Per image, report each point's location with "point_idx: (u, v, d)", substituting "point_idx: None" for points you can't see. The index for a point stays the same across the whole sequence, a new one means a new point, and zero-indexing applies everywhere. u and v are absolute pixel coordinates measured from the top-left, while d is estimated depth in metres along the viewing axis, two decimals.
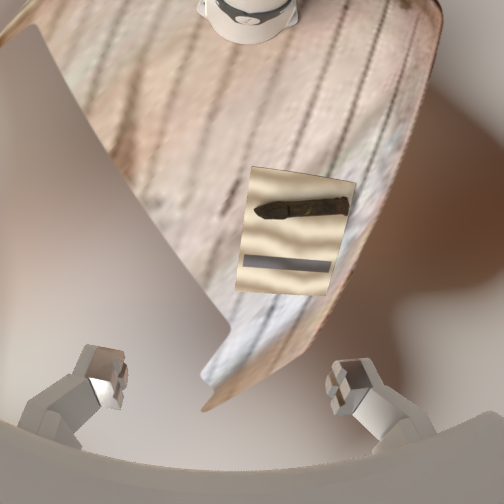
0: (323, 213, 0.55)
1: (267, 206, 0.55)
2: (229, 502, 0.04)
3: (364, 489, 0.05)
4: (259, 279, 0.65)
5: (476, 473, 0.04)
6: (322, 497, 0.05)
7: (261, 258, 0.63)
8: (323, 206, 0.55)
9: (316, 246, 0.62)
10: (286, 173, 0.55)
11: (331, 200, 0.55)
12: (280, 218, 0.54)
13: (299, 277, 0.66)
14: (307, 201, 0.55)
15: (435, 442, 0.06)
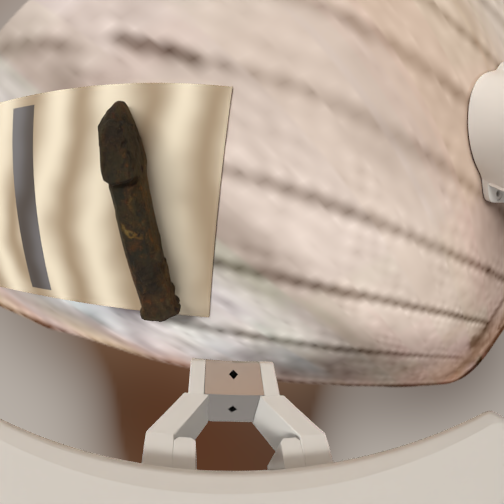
0: (133, 268, 0.22)
1: (131, 129, 0.19)
2: (229, 502, 0.04)
3: (364, 489, 0.05)
4: None
5: (476, 473, 0.04)
6: (322, 497, 0.05)
7: (27, 144, 0.19)
8: (150, 267, 0.22)
9: (67, 256, 0.25)
10: (217, 169, 0.23)
11: (166, 279, 0.24)
12: (103, 166, 0.18)
13: (10, 232, 0.23)
14: (154, 226, 0.22)
15: (435, 442, 0.06)
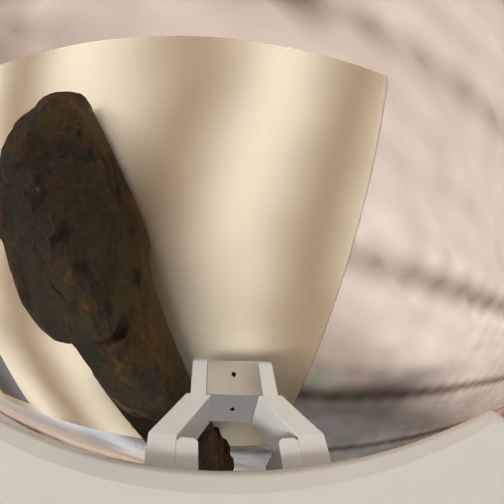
0: None
1: (91, 176, 0.06)
2: (229, 502, 0.04)
3: (364, 489, 0.05)
4: None
5: (476, 473, 0.04)
6: (322, 497, 0.05)
7: None
8: None
9: (41, 375, 0.13)
10: (340, 258, 0.11)
11: (211, 445, 0.12)
12: (25, 300, 0.05)
13: None
14: (182, 385, 0.10)
15: (435, 442, 0.06)
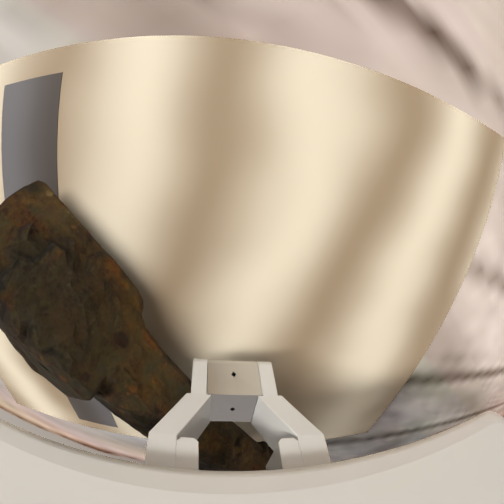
0: None
1: (48, 269, 0.07)
2: (229, 502, 0.04)
3: (364, 489, 0.05)
4: None
5: (476, 473, 0.04)
6: (322, 497, 0.05)
7: (43, 177, 0.08)
8: (210, 470, 0.10)
9: None
10: (465, 268, 0.12)
11: (248, 463, 0.12)
12: (33, 367, 0.07)
13: None
14: None
15: (435, 442, 0.06)
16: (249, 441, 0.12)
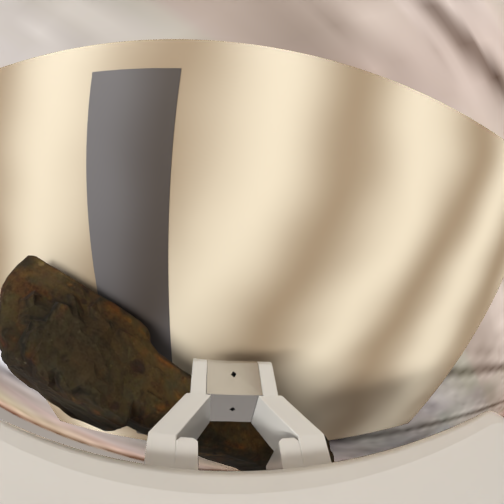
0: (239, 469, 0.12)
1: (58, 323, 0.08)
2: (229, 502, 0.04)
3: (364, 489, 0.05)
4: (24, 194, 0.08)
5: (476, 473, 0.04)
6: (322, 497, 0.05)
7: (149, 185, 0.09)
8: (261, 468, 0.11)
9: None
10: (502, 273, 0.12)
11: None
12: (71, 414, 0.07)
13: None
14: (233, 421, 0.11)
15: (435, 442, 0.06)
16: None
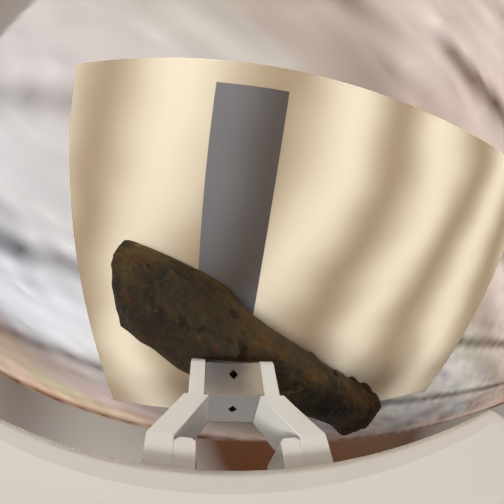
0: (308, 413, 0.15)
1: (172, 282, 0.11)
2: (229, 502, 0.04)
3: (364, 489, 0.05)
4: (136, 175, 0.12)
5: (476, 473, 0.04)
6: (322, 497, 0.05)
7: (260, 175, 0.12)
8: (330, 402, 0.14)
9: None
10: (499, 254, 0.16)
11: (351, 390, 0.16)
12: (181, 366, 0.11)
13: None
14: (303, 358, 0.14)
15: (435, 442, 0.06)
16: (342, 373, 0.17)
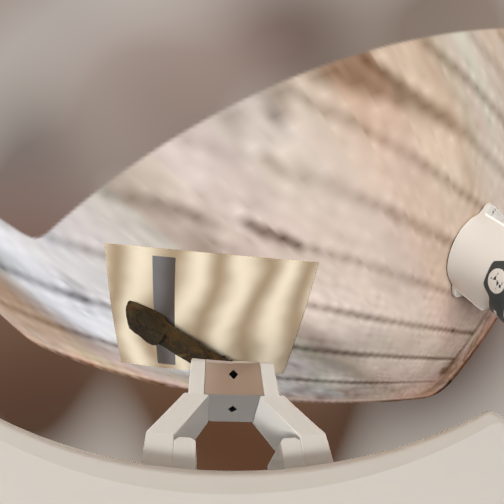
0: None
1: (144, 315, 0.36)
2: (229, 502, 0.04)
3: (364, 489, 0.05)
4: (131, 281, 0.36)
5: (476, 473, 0.04)
6: (322, 497, 0.05)
7: (169, 282, 0.37)
8: None
9: None
10: (303, 305, 0.41)
11: (217, 359, 0.41)
12: (146, 341, 0.36)
13: None
14: (191, 342, 0.39)
15: (435, 442, 0.06)
16: (214, 352, 0.42)
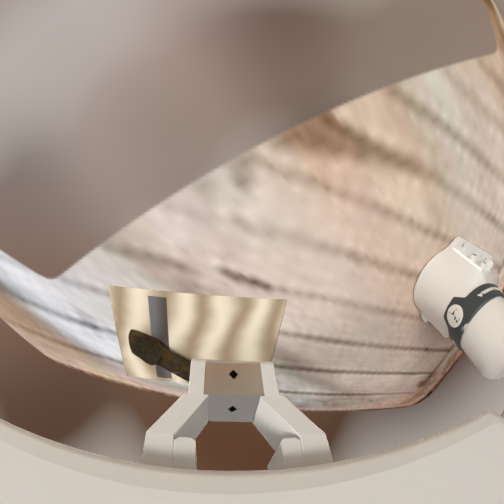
0: (188, 381, 0.47)
1: (143, 342, 0.44)
2: (229, 502, 0.04)
3: (364, 489, 0.05)
4: (132, 314, 0.44)
5: (476, 473, 0.04)
6: (323, 497, 0.05)
7: (163, 316, 0.44)
8: None
9: None
10: (276, 333, 0.48)
11: None
12: (146, 362, 0.43)
13: None
14: (183, 362, 0.47)
15: (435, 442, 0.06)
16: None
